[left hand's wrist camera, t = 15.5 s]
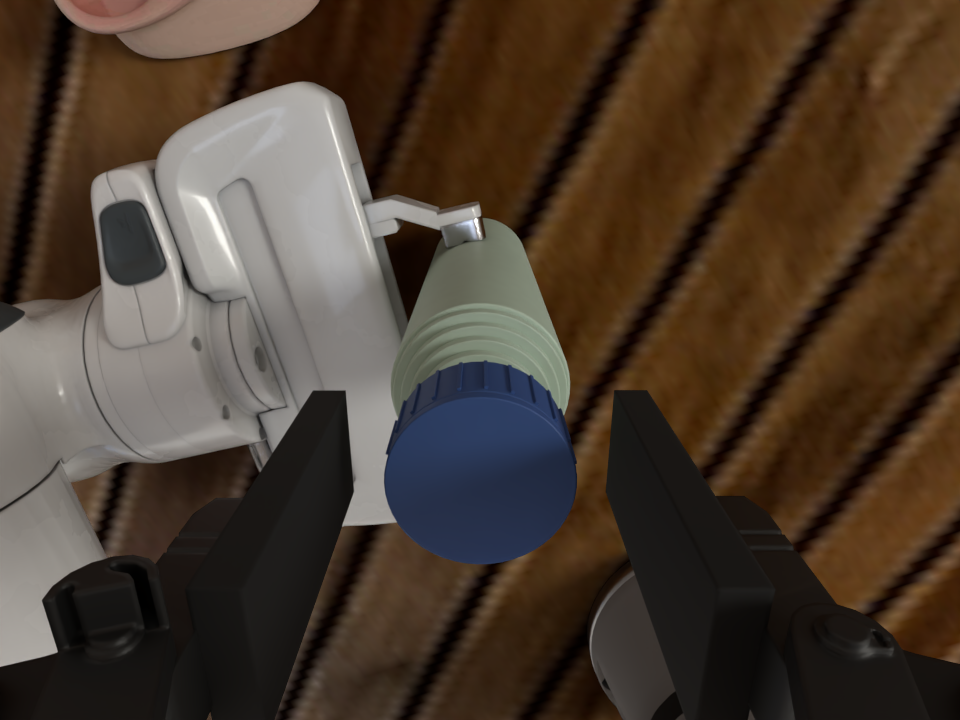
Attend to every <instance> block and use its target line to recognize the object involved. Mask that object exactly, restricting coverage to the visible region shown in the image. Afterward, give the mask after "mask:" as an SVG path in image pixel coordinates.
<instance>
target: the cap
mask: <svg viewBox="0 0 960 720" xmlns="http://www.w3.org/2000/svg"><path fill="white" fill-rule="evenodd" d="M386 455H388V457H387V461H386V466H385V471H384V488H385V495H386V499H387V503H388V505H389V508H390V510H391V513H392V515H393V516H394V518H395V520H396V521H397V523H398V524H399V526H400V527H401V528H402V529H403V531H404V532H405V533H406V534H407V535H408V536H409V537H410V538H411V539H412V540H413V541H415V542H416V543H417V544H419V545H420V546H421V547H423V548H424V549H426V550H428V551H430V552H431V553H433V554H436V555H438V556H440V557H443V558H446V559H449V560H453V561H457V562H462V563H470V564H492V563H499V562H504V561H508V560H512V559H515V558H518V557H520V556H523V555H525V554H527V553H529V552H531V551H533V550H535V549H536V548H538V547H539V546H541V545H542V544H544V543H545V542H546V541H547V540H548V539H550V538H551V537H552V536H553V535H554V534H555V533H556V532H557V530H558V529H559V528H560V527H561V525H562V524H563V523H564V521H565V520H566V518H567V516H568V514H569V512H570V510H571V508H572V505H573V502H574V499H575V494H576V488H577V473H576V466H575V464H577V461H576V458H575V454H574V451H573V447H572V444H571V439H570V435H569V432H568V429H567V425H566V422H565V418H564V415H563V412H562V409H561V408H560V409H558V406H557V404H556V403H555V401H554V399H553V398H552V395H551V392H550V390H549V389H548V390H546V389H545V388H544V387H543V386H542V385H541V384H540V383H539V382H538V381H536V380H535V379H534V377H533V376H532V375H531V374H530V376H529V375H528V374H526V373H524V372H522V371H520V370H518V369H516V368H513V367H512V365H509V364H508V365H504V364H499V363H495V362H487V360H484V361H481V362H467V363H463V362H459V364H457V365H454V366H450V367H447V368H445V369H443V370H437V371H436V373H435V374H433V375H431V376H430V377H428V378H427V379H426V380H424V381H423V382H422V383H421V384H420V383H418V384H417V386H416V389H415V390H414V391H413V392H412V393H411V395H410V396H409V397H408V399H407V400H406V401H405V400H404V401H403V403H402V407H401V410H400V414H399V417H398V421H397V420H395V423H394V426H393V430H392V433H391V437H390V440H389V443H388V447H387V450H386Z"/></svg>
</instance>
